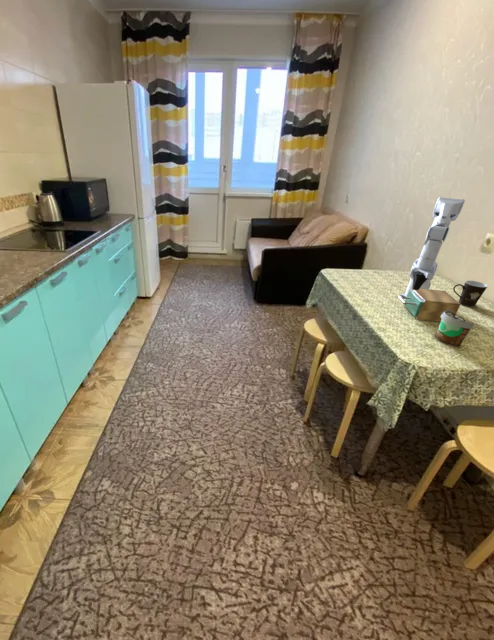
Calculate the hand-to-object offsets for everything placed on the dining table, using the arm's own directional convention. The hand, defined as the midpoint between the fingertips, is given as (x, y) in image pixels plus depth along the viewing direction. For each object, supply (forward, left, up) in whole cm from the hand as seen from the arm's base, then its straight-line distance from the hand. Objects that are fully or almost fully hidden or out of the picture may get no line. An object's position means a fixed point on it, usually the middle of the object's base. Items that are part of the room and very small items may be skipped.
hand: (415, 289), depth 139 cm
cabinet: (-7, +5, -10) cm, 14 cm away
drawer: (-4, +3, -9) cm, 11 cm away
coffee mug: (-36, +3, -11) cm, 38 cm away
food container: (+10, +23, -11) cm, 27 cm away
